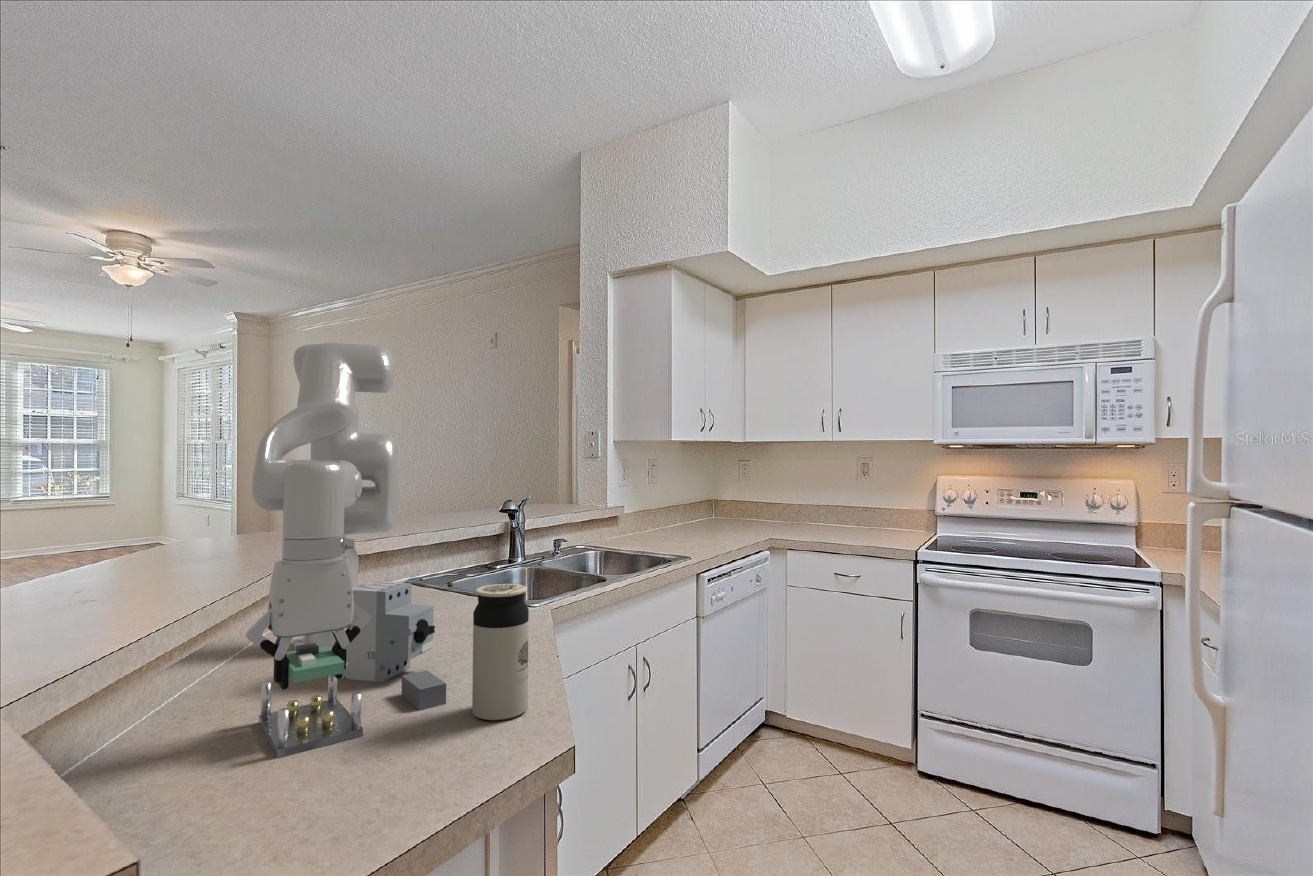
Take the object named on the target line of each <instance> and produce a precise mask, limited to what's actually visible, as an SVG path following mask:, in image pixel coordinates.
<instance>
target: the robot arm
mask: <svg viewBox="0 0 1313 876" xmlns="http://www.w3.org/2000/svg"><path fill="white" fill-rule="evenodd" d="M293 367H294V372H295V375H296V378H297V380H298V383H299V387H298V388H299V391H298V398H297V406H296V408H294V409H292V410H290V411H289V412H287V413H286V414H285V415H283V416H282V417H280V418H279V419H278V420H277V421H276V422H275V423H273V424H272V425H271V426H270V427H269V428H268V430H266V432H265V433H264V435H263V436H262V438H261V440H260V441H259V444H258V447H257V450H256V456H255V457H256V458H255V461H254V467H253V472H252V481H251V493H252V497H253V500H254V502H255V503H256V505H257V506H258V507H259V508H262V509H264V510H266V511H271V512H272V511H274V512H275V511H276V512H279V511H282V545H281V546H282V549H281V560H278V561H275V562H274V566H273V569H272V574H271V580H270V586H269V594H268V602H267V603H268V604H267V611H266V612H265V613H264V614H263V615H262V616H261V617H260V618H259V619H258V620H257V621H256V622H255V623H254V624H253V625H252V626H251V627H250V628H249V629H248V631H246V633H245V637H246V639H247V640H248V641H250V642H251V643H253V644H254V645H256V646H257V647H259V648H260V649H262V650H263V651H264V652H266V653H267V654H268V655H270V656H271V657H272V658H273V682H274V684H278V687H280V689H281V691H284V690H287V689H288V688H289V686H290V685H289V684H290V680H289V679H290V677H289V676H288V665H289V659H288V658H287V654H286V652H288V649H289V647H290V645H291V642H292V640H293V638H296V637H302V636H303V638H301V639H299V640H297V641H296V642H295V643H294V650H293V651H296V646H298V645H304V644H310V643H316V644H317V645H318V646H319V647H320V646H327V647H329V648H330V649H331V650H332V652H333V653H334V654H336V655H337V656H338V657H340V658H341V659H342V660H343V661H344V670H345V669H346V667H347V662H346V654H347V648H348V647H349V646H350V643H351V642H352V641H353V640H354V639H355V638H356V636H357V635H358V634H359V633H360V631H361V630H362V629H363V628H364V627H365V626H366V625H367V624H368V623H369V622H370V621H371V616H370V615H369V614H368V613H367V612H365V611H364V610H363V609H362V608H361V607H360V606H358V605H357V604H356V603H355V602H354V601H353V587H355V586H359V564H360V563H359V561H360V560H359V558H360V557H359V553H358V552H357V550H356V549H355V539H354V538H350V539H349V538H347V537H346V536H348V535H355V534H360V535H361V534H377V533H378V534H379V533H386V532H389V531H391V530H392V529H394V528H395V526H396V523H397V520H398V519H397V518H398V503H399V501H398V498H399V497H398V493H399V492H398V491H399V489H398V488H399V486H398V485H399V483H398V482H399V481H398V479H399V477H398V475H399V474H398V473H399V456H398V455H399V454H398V448H397V445H396V441H395V440H394V439H393V438H392V436H390V435H387V434H384V433H361V432H360V431H359V412H360V411H359V408H358V406H357V403H356V393H357V392H358V393H372V394H373V393H376V394H377V393H378V394H379V393H382V394H386V393H389V392H390V390H391V389H392V387H393V384H394V381H395V373H396V371H395V369H396V366H395V360H394V357H393V354H392V352H391V351H390V350H389V349H388V348H386V347H384V346H379V345H371V344H370V345H369V344H355V343H354V344H353V343H344V342H343V343H339V342H323V343H322V342H321V343H311V344H304V345H301V346H299V347H298V348H296V350H294V354H293ZM307 444H310V459H282V458H283V457H285V456H286V455H287V454H288V453H290V452H291V451H294V450H295V449H297V448H299V447H302V446H304V445H307ZM363 481H370V482H372V483H373V484H374V486H363ZM354 615H355V616H356V617H357V620H356V621H355V622H354V624H353V625H351V624H352V622H353V617H354ZM350 625H351V626H350ZM348 626H350V627H349V628H348V629H347V627H348ZM266 629H267V630H269V631H271V632H272V634H273V636H274V637H276V639H275V641H274V642H272V641H271V640H270V639H268V638H266V637H265V636H264V635H263V632H264V631H265V630H266ZM333 676H334V677H335V678H337V680H339V679H341V678H342V676H343V673H342V674H337V675H333Z"/></svg>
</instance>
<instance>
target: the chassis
mask: <svg viewBox="0 0 1313 876" xmlns="http://www.w3.org/2000/svg"><path fill="white" fill-rule="evenodd" d="M327 679H328V682H327V700H323V701H322V695H320V694H317V695H312V696H311V697H310V703H309V704H304V705H300V706H299V700H296V699H294V700H288V701H287V702H286V707H284V708H280V709H278V710H277V711H272V712H271V707H272V681H264V682H262V683H261V685H260V689H261V690H260V691H261V692H260V714H259V715H258V724H259V725H260V728H261V730H262V731H263V733H264V735H265V738H266V739H267V740H268V741H267V742H268V743H269V745H270V747H271V749H272V751H273V752H274V754H275V757H276V759H279V758H283V757H287V756H290V755H294V754H298V753H301V752H302V753H303V752H306V751H310V750H313V749H317V748H321V747H324V746H328V745H332V744H337V743H340V742H345V741H348V740H352V739H356V738H360V737H363V736H364V728H363V726H362V692H361V691H360V692H358V691H357V692H354V693H352V694H351V706H350V707H351V711H350V712H351V713H350V712H349V710H347V709H346V707H345V706H344V705H343V704H342V702H340V701H339V699H338V679H337V678H335V677H334V676H333V675H332V676H327Z"/></svg>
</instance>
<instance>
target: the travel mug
mask: <svg viewBox="0 0 1313 876" xmlns="http://www.w3.org/2000/svg"><path fill="white" fill-rule="evenodd" d="M527 591H528V587H527V586H525V585H522V584H517V583H497V584H496V583H495V584H489V585H488V584H487V585H483V586H480V587H477V588H476V589H475V592H474V593H475V594H476V596H477V601H478V603H477V605H476V606H475V608H474V610H473V615H472V616H473V618H472V620H473V621H472V624H473V625H472V626H473V627H472V629H473V630H472V693H471V694H472V701H471V704H472V705H471V708H472V709H471V713H472V714H473V716H475V717H477V718H478V719H481V720H483V721H494V722H496V721H507V720H510V719H513V718H516V717H519V716H520V715H522V714H524V713H525V712H527V710H528V707H529V705H528V704H529V701H528V700H529V689H528V688H529V624H530V623H529V621H530V620H529V613H530V612H529V611H530V610H529V608H528V604H526V602H525V596H526V592H527Z"/></svg>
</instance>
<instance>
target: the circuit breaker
mask: <svg viewBox="0 0 1313 876" xmlns="http://www.w3.org/2000/svg"><path fill="white" fill-rule="evenodd" d="M353 601H354V602H355V603H356V604H357V605H358V606H360V607H361V608H362V609H363V610H364V611H365V612H367V613H368V614H369V615H370V616H371V621H370V622H369V623H368V624H367V625H366V626H365V627H364V628H363V629H362V630H361V631H360V633H359V634H358V635H357V636H356V638H355V639H354V640H353V641H352V642H351V643H350V646H349V647H348V648H347V654H346V663H347V666H346V669H345V670H344V673H342V678H340V679H342V680H344V679H347V680H352V681H365V682H378V683H384V682H387V681H389V680H390V679H391V678H394V677H395V676H397V675H399V674H401V673H403V672H405V671H407V670H408V669H410V668H411V660H413V659H414V658H416V657H418V656H420V655H423V654H424V653H425V652H428V651H430V650H432V649H433V647H434V633H436V631H435V628H436V625H434V605H430V604H429V605H426V604H412V583H410V582H408V583H407V582H391V581H388V582H387V581H369V582H365V583H363V584H362V583H361V584H360V585H358V586H355V587H353ZM356 620H357V617H356V616H355V615H354V617H353V622H352V624H351V625H353V624H354V622H355V621H356ZM351 625H350V626H351ZM350 626H348V627H347V629H348V628H349V627H350Z"/></svg>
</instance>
